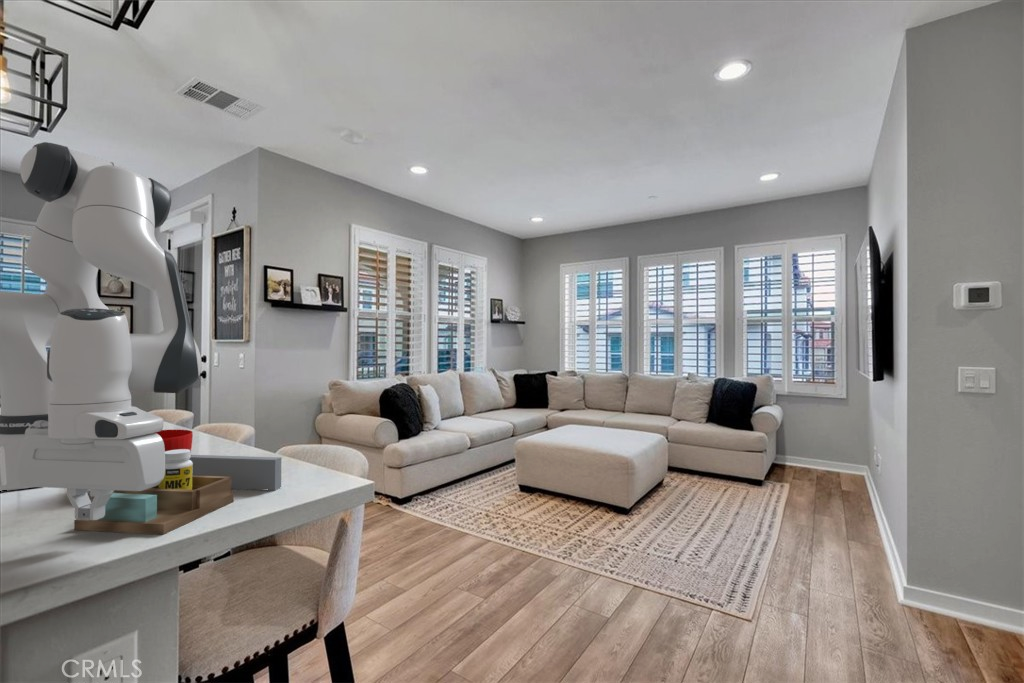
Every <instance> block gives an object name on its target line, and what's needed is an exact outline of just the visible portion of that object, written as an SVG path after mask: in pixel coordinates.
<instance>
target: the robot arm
mask: <svg viewBox="0 0 1024 683" xmlns="http://www.w3.org/2000/svg"><path fill="white" fill-rule="evenodd" d="M19 165H20V167H19V171H20V177H21V184H22V185H23V187H24V189H26V191H27V192H28V193H29V194H31V195H33V196H35V197H36V198H38V199H41V200H42V201H44V202H45V203H44V205H43V206H42V209H41V210H40V213H39V215H38V216H37V219H36V222H35V224H34V227H33V230H32V233H31V236H30V238H29V241H28V243H27V247H26V250H25V252H24V255H23V260H24V263H25V264H26V267H27V268H28V270H29V271H30V272H32V273H33V274H34V275H36V276H37V277H39V278H40V279H42V280H43V281H46V288H45V291H44V292H43V293H29V292H19V291H8V290H7V291H6V290H0V491H1V492H3V491H2V490H7V491H12V490H13V491H14V490H23V489H29V488H30V489H31V488H50V489H51V488H52V489H66V496H67V498H68V500H69V501H70V503H71V505H72V507H73V508H74V520H76V519H78V520H98V519H100V518H103V517H104V516H105V504H107V502H108V500H109V499H110V497H111V495H112V494H113V493H114V491H115V490H122V491H143V490H146V489H149V488H152V487H155V486H157V485H159V484H160V483H161V481H162V480H163V478H164V475H165V448H164V442H163V439H162V438H161V436H160V435H158V434H157V433H155V432H159V431H161V430H164V429H163V428H164V419H163V418H162V416H161V417H160V416H159V415H157V414H153V413H150V412H148V411H145V410H142V409H141V408H139V407H137V406H134V405H132V394H131V393H152V392H153V393H155V394H160V393H161V394H180V393H183V391H185V390H186V389H189V388H191V386H193V385H194V384H195V383H197V382H198V380H200V378H199V377H200V376H201V372H202V367H203V366H202V365H203V363H202V355H201V353H200V349H199V347H198V344H197V342H196V340H195V338H194V335H193V330H192V326H191V319H190V315H189V311H188V310H189V309H188V304H187V301H186V295H185V291H184V286H183V281H182V277H181V274H180V270H179V266H178V263H177V261H176V259H175V256H174V255H173V254H172V253H170V252H169V251H167V250H164V249H163V248H162V247H161V246H160V244H159V242H158V241H157V239H156V236H155V231H156V229H157V228H159V227H161V226H163V224H165V222H166V220H167V219H168V217H169V215H170V213H171V209H172V196H171V193H170V191H169V189H168V187H166V186H164V184H162V183H160V182H158V181H157V180H155V179H153V178H151V177H149V178H147V177H146V176H144V175H142V174H140V173H138V172H136V171H133V170H131V169H130V168H127V167H125V166H122V165H119V164H118V163H115V162H112V161H107V160H104V159H102V158H99V157H96V156H94V155H89V154H86V153H83V152H80V151H77V150H73V149H69V147H68V146H65V145H61V144H58V143H53V142H46V141H44V142H40V143H36V144H34V145H33V146H32V148H30V149H29V150H28V151H26V153H25V154H24V155H23V157H22V160H21V161H20V164H19ZM99 270H101V271H102V272H104V273H107V274H109V275H112V276H115V277H118V278H121V279H125V280H127V281H130V282H133V283H135V284H138V285H140V286H143V287H145V288H146V289H148V290H150V291H152V292H153V293H154V294H155V296H156V297H157V300H158V306H159V311H160V312H159V313H160V316H161V320H162V327H163V330H162V331H160V332H157V333H130V329H129V322H128V318H127V316H126V314H125V313H124V312H121V311H119V310H115V309H109V307H108V306H107V305H105V304H104V302H102V300H101V299H100V297H99V293H98V292H97V276H98V272H99ZM47 347H49V349H48V350H47ZM89 492H90V493H89ZM88 493H89V495H90V497H92V498H93V499H92V501H91V499H90V497H89V495H88Z"/></svg>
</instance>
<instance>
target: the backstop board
mask: <svg viewBox="0 0 1024 683" xmlns="http://www.w3.org/2000/svg"><path fill="white" fill-rule="evenodd" d="M189 460H191V461H192V463H193V473H192V475H197V476H225V477H231V488H234V489H233V490H246V489H268V490H267V491H272V490H275V491H277V490H279V489H281V488H282V457H280V456H279V457H277V456H276V457H275V456H245V455H244V456H243V455H242V456H241V455H237V456H236V455H213V454H212V455H211V454H210V455H209V454H190V459H189ZM280 487H281V488H280ZM278 488H279V489H278ZM276 489H277V490H276Z"/></svg>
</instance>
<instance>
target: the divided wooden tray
mask: <svg viewBox="0 0 1024 683" xmlns="http://www.w3.org/2000/svg"><path fill="white" fill-rule="evenodd" d="M234 496H235V494H234V492H233V493H232V489H231V477H225V476H197V475H192V490H183V489H159V485H157V486H155V487H152V488H149V489H146V490H143V491H122V490H114V492H113V494H112V495H111V497H110V499H109V500H108V502H107V504H105V516H104V517H103V518H100V519H98V520H78V519H74V521H73V523H74V527H73V528H74V529H73V530H74V531H89V532H90V531H92V532H106V533H107V532H110V533H112V532H113V533H124V534H125V533H131V534H144V535H145V534H148V535H151V534H152V535H166V534H167V533H169V532H171V531H174V530H176V529H178V528H180V527H182V526H185V525H187V524H189V523H191V522H194V521H195V520H197V519H200V518H201V517H204V516H206V515H208V514H210V513H213V512H214V511H217V510H218V509H222V508H223V507H225V506H227V505H230V504H231V503H234Z"/></svg>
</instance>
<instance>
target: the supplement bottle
mask: <svg viewBox="0 0 1024 683" xmlns="http://www.w3.org/2000/svg"><path fill="white" fill-rule="evenodd" d="M190 455H191V453H190V450H188V449H178V450H170V451H166V452H165V475H164V478H163V480H162V481H161V483H160V484H159V489H183V490H192V473H193V463H192V461H191V460H189V459H190Z"/></svg>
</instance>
